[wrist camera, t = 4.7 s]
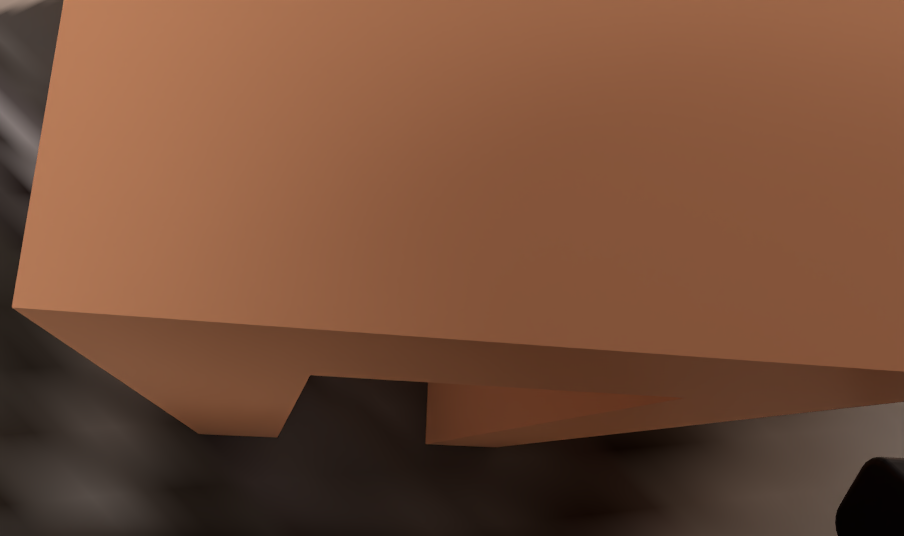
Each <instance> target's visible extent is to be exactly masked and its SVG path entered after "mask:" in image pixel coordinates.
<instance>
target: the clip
mask: <svg viewBox="0 0 904 536" xmlns="http://www.w3.org/2000/svg"><path fill="white" fill-rule="evenodd" d="M12 308H13V309H15V310H16V311H18V312H19V313H21V314H22V315H24V316H25V317H27V318H28V319H30V320H31V321H33V322H34V323H35V324H37V325H38V326H40V327H41V328H43V329H44V330H46V331H47V332H49V333H50V334H52V335H53V336H55V337H56V338H58V339H59V340H61V341H62V342H64V343H65V344H67V345H68V346H69V347H71V348H72V349H74V350H75V351H77V352H78V353H80V354H81V355H83V356H84V357H86V358H87V359H89V360H90V361H92V362H93V363H95V364H96V365H98V366H99V367H101V368H102V369H104V370H105V371H106V372H108V373H109V374H111V375H112V376H114V377H115V378H117V379H118V380H120V381H121V382H123V383H124V384H126V385H127V386H129V387H130V388H132V389H133V390H135V391H136V392H138V393H139V394H141V395H142V396H143V397H145V398H146V399H148V400H149V401H151V402H152V403H154V404H155V405H157V406H158V407H160V408H161V409H163V410H164V411H166V412H167V413H169V414H170V415H172V416H173V417H175V418H176V419H177V420H179V421H180V422H182V423H183V424H185V425H186V426H188V427H189V428H191V429H192V430H194V431H195V432H197V433H198V434H209V435H231V436H253V437H276V438H277V437H278V435H279V433H280V432H281V430H282V428H283V426H284V424H285V422H286V420H287V418H288V416H289V414H290V413H291V411H292V409H293V407H294V405H295V403H296V401H297V399H298V397H299V396H300V394H301V392H302V390H303V388H304V386H305V384H306V382H307V380H308V378H309V377H310V375H315V376H331V377H348V378H364V379H381V380H397V381H414V382H428V395H427V419H426V443H425V444H432V445H454V446H476V447H503V446H512V445H521V444H530V443H539V442H548V441H557V440H566V439H575V438H584V437H593V436H601V435H610V434H619V433H628V432H637V431H646V430H655V429H664V428H673V427H682V426H691V425H700V424H708V423H717V422H726V421H735V420H744V419H753V418H762V417H771V416H780V415H789V414H798V413H807V412H815V411H824V410H833V409H842V408H851V407H860V406H869V405H878V404H887V403H896V402H904V0H64V3H63V9H62V15H61V20H60V26H59V32H58V38H57V44H56V50H55V56H54V62H53V68H52V73H51V79H50V85H49V91H48V97H47V103H46V109H45V115H44V120H43V126H42V132H41V138H40V144H39V150H38V156H37V162H36V168H35V173H34V179H33V185H32V191H31V197H30V203H29V209H28V215H27V221H26V226H25V232H24V238H23V244H22V250H21V256H20V262H19V268H18V274H17V279H16V285H15V291H14V297H13V303H12Z"/></svg>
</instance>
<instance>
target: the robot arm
mask: <svg viewBox="0 0 904 536" xmlns="http://www.w3.org/2000/svg"><path fill="white" fill-rule="evenodd" d="M835 524H836V531H837V535H838V536H904V458H888V457H876V458H872V459H870V460H869V461H867V462H866V463H865V464H864V465H863V467H862V468H861V470H860V472H859V473H858V475H857V477H856V478H855V480H854V482H853V484H852V485H851V487H850V489H849V490H848V492H847V494H846V495H845V497H844V499H843V500H842V502H841V504H840V505H839V507H838V510H837V513H836V521H835Z"/></svg>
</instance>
